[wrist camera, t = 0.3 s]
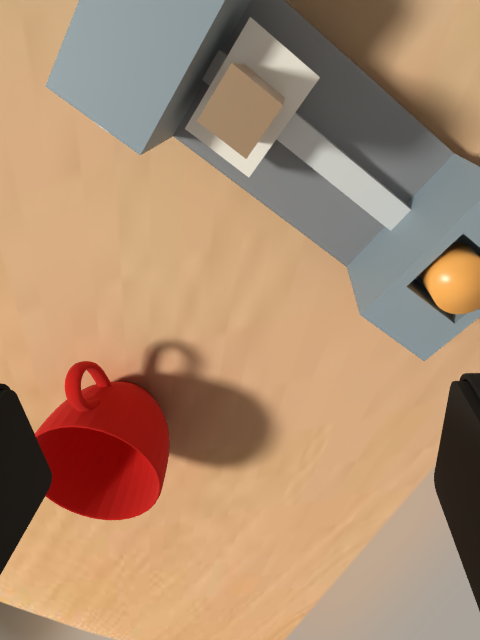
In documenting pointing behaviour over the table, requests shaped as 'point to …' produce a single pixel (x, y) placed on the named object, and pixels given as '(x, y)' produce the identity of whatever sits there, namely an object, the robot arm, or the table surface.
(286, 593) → the table surface
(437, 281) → the button
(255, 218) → the table surface
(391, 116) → the rail bed
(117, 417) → the ceramic cup
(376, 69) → the table surface
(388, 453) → the table surface
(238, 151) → the carriage
